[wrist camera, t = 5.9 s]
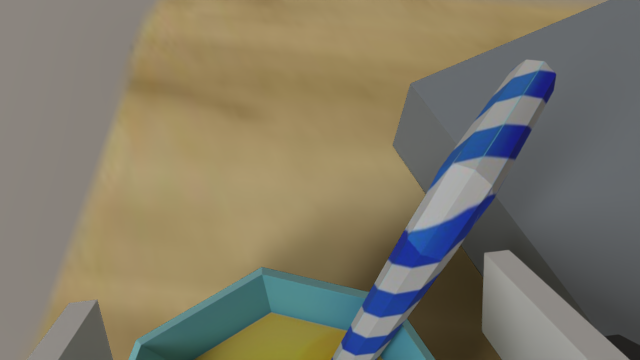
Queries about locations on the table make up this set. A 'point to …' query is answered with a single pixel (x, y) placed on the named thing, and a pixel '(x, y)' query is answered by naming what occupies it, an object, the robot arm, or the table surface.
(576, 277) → the slate block
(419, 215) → the cup
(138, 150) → the table surface
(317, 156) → the table surface
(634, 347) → the robot arm
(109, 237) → the table surface
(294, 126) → the table surface
